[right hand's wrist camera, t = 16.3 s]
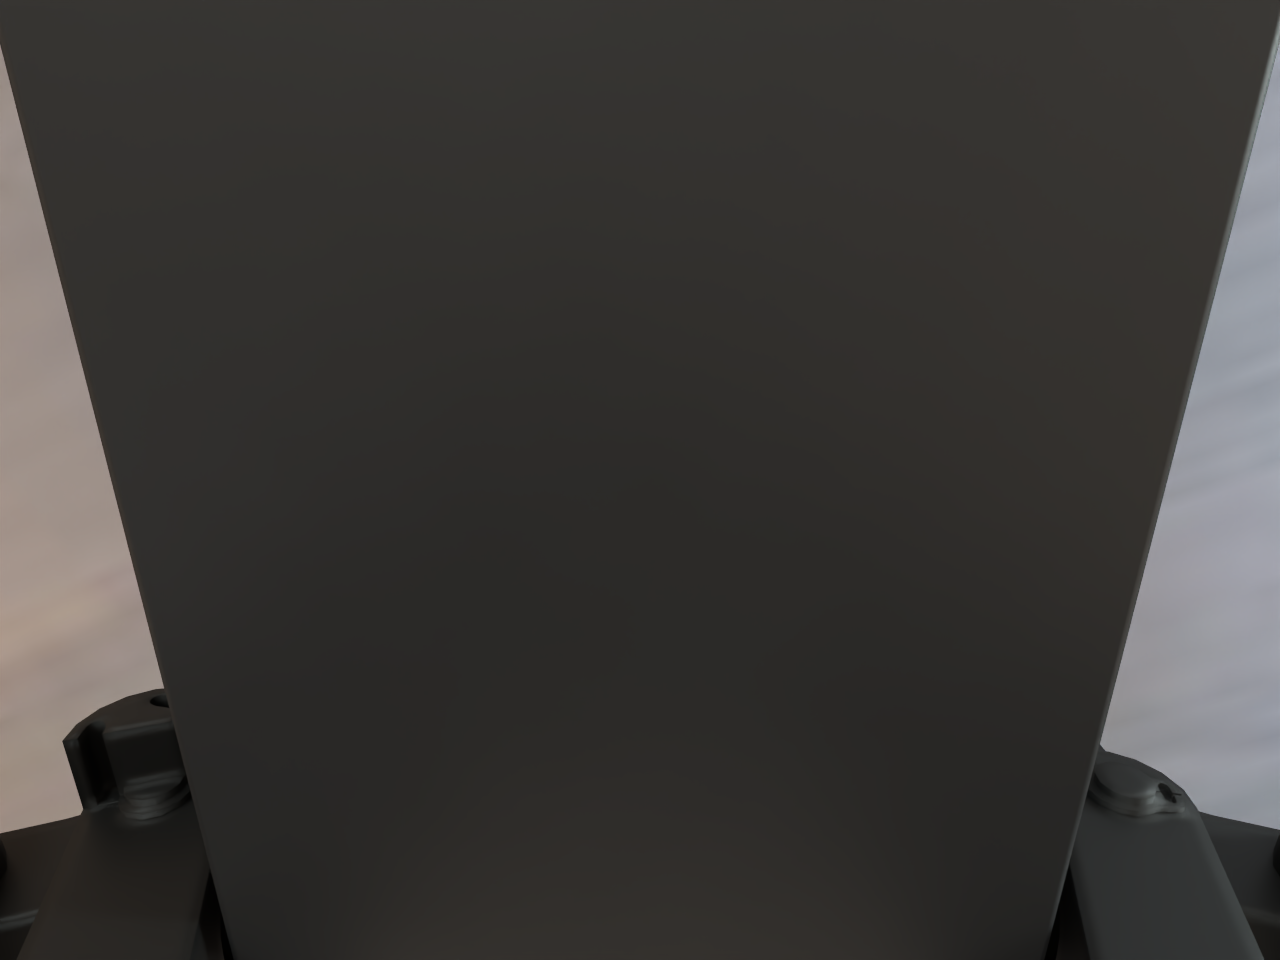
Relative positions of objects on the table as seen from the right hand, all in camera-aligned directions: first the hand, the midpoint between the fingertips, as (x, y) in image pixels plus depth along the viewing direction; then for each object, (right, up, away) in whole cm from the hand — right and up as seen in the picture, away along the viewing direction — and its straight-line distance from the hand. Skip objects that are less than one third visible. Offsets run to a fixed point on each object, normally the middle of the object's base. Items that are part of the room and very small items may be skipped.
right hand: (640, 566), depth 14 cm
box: (0, +10, -3) cm, 11 cm away
